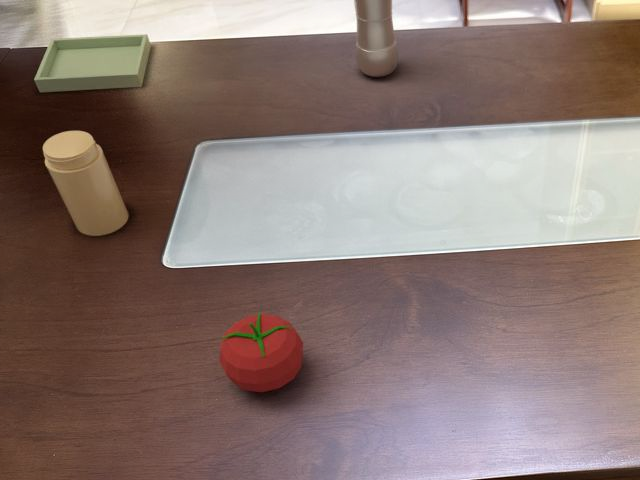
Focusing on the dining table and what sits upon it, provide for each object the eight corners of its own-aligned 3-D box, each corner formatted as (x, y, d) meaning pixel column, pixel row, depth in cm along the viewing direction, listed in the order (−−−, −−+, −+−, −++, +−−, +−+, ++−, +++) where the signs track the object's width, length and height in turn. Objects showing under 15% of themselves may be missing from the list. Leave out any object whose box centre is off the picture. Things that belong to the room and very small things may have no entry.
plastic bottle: (405, 64, 113) (399, -76, 98) (390, 85, 109) (382, -57, 93) (366, 57, 114) (355, -82, 99) (350, 78, 110) (336, -64, 94)
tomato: (233, 346, 75) (216, 294, 69) (309, 342, 75) (298, 290, 69) (224, 409, 70) (204, 358, 64) (306, 404, 70) (294, 354, 64)
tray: (39, 92, 105) (33, 79, 103) (56, 51, 112) (50, 38, 111) (141, 86, 106) (137, 74, 105) (151, 46, 114) (147, 34, 113)
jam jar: (72, 238, 85) (34, 162, 77) (79, 206, 88) (43, 131, 80) (126, 232, 86) (93, 156, 77) (130, 201, 89) (99, 125, 81)
